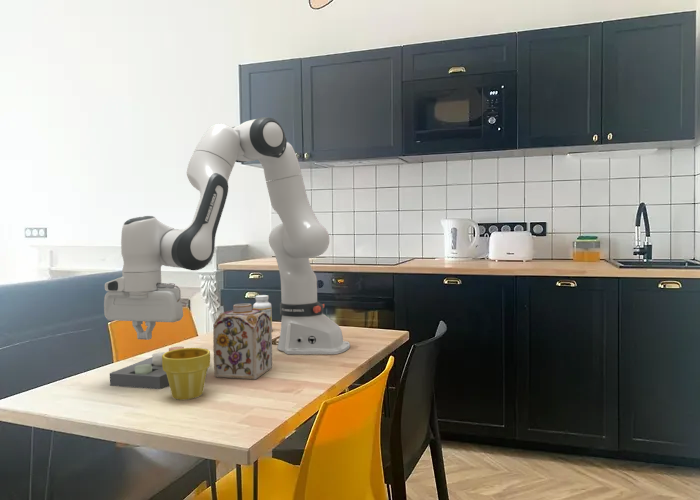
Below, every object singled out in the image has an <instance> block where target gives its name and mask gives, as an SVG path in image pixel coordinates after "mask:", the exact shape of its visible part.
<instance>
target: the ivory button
mask: <svg viewBox="0 0 700 500" xmlns="http://www.w3.org/2000/svg"><path fill="white" fill-rule="evenodd" d="M164 353H165V352H156V353H153V354H152V355H151V357H152V359H153V366H155V367H163V366H162V355H163V354H164Z"/></svg>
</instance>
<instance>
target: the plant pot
mask: <svg viewBox="0 0 700 500" xmlns="http://www.w3.org/2000/svg"><path fill="white" fill-rule="evenodd" d="M163 353H164V354H163V355H162V366H163V370H164V371H165V372H166V374H167V378H168V382H169V385H168V386H169V389H170V393H171V397H172V398H173V399H174V400H179V401H180V400H181V401H184V400H185V401H186V400H187V401H188V400H193V399H197V398H199V397H200V396H202V395H203V393H204V388H205V384H206V383H205V382H206V377H207V372H208V369H209V367H211V351H210V350H209V349H207V348H202V347H184V348H182V349H176V350H171V351H169V350H168V351H166V352H163Z"/></svg>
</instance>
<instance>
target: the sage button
mask: <svg viewBox="0 0 700 500" xmlns="http://www.w3.org/2000/svg"><path fill="white" fill-rule="evenodd" d="M151 372H152V365H151V364H141V365H137V366H135V374H145V375H146V374H148V373H151Z"/></svg>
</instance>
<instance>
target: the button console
mask: <svg viewBox="0 0 700 500" xmlns="http://www.w3.org/2000/svg"><path fill="white" fill-rule="evenodd" d="M141 364H151V365H152V372H151V373H148V374H146V375H145V374H135V366H137V365H141ZM109 386H113V387H121V388H123V387H126V388H135V389H136V388H138V389H150V390H151V389H152V390H162V389H164V388H165V387H166V388H167V387H168V386H169V382H168V378H167V374H166V372H165V371H164V370H163V367H155V366H153V359H152V356H151V357H148V358H146V359H143V360H141V361H138V362H134V363H133V364H131V365H128V366H125V367H122V368H120V369H117V370H114V371H113V372H109Z"/></svg>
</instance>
